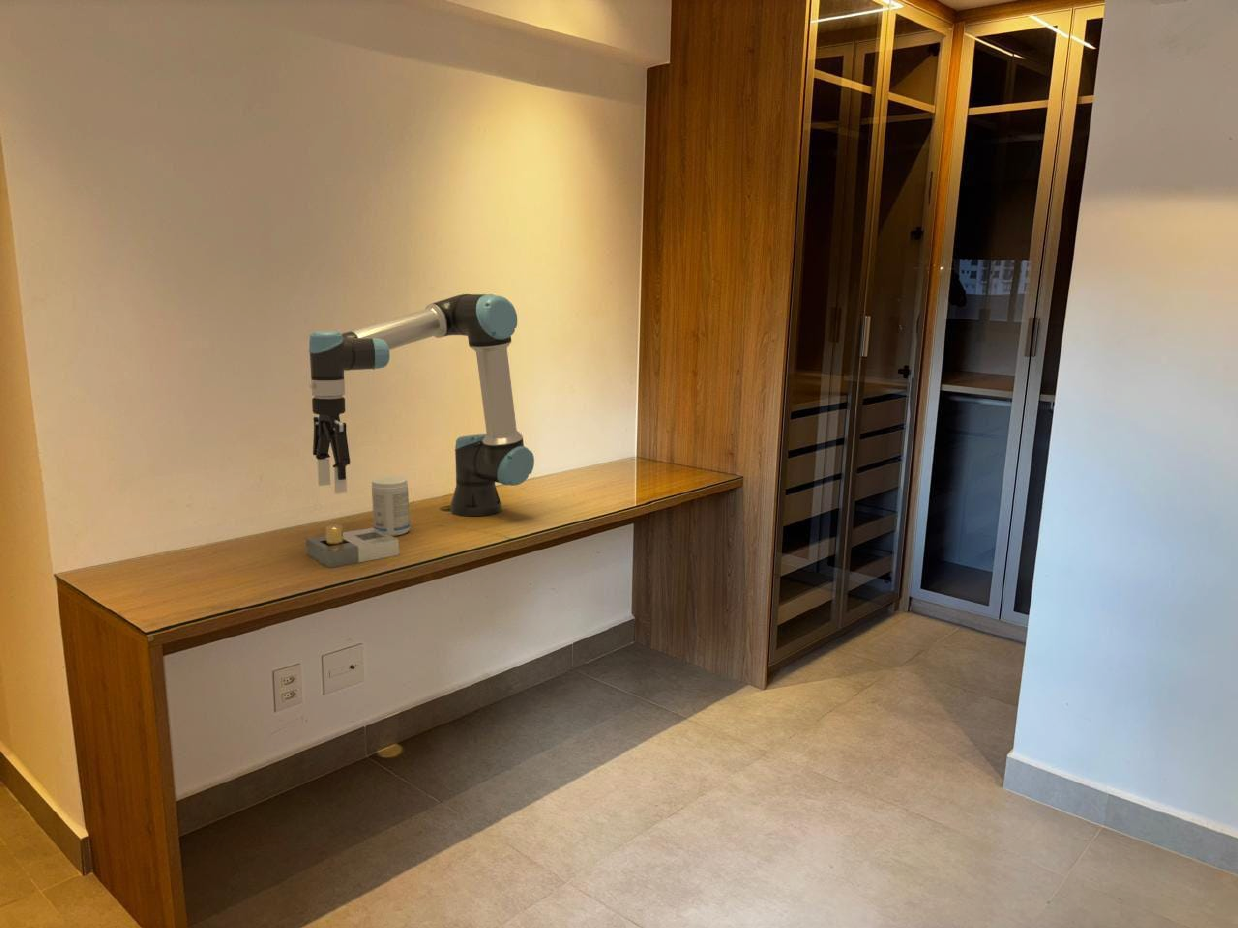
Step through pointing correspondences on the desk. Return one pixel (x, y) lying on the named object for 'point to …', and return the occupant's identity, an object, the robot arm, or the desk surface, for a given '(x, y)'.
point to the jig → (353, 547)
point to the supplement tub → (391, 505)
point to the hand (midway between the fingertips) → (332, 488)
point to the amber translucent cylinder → (334, 535)
